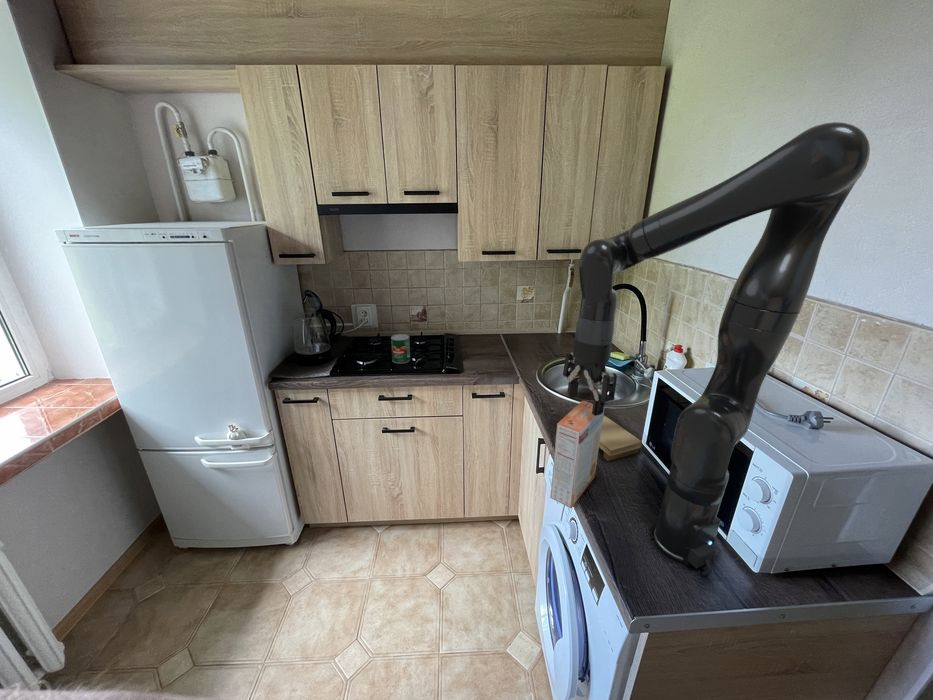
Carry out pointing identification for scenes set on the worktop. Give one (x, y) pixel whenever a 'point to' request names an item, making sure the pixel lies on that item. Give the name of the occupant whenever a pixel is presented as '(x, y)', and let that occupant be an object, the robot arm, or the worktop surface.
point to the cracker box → (575, 453)
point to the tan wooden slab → (617, 441)
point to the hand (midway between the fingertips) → (583, 405)
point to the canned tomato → (400, 348)
